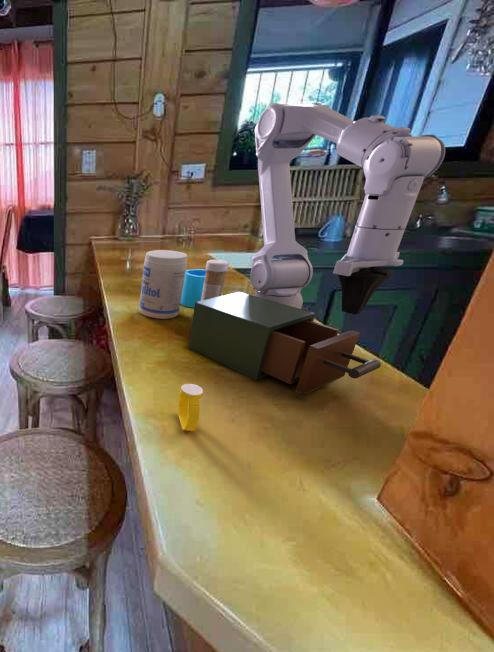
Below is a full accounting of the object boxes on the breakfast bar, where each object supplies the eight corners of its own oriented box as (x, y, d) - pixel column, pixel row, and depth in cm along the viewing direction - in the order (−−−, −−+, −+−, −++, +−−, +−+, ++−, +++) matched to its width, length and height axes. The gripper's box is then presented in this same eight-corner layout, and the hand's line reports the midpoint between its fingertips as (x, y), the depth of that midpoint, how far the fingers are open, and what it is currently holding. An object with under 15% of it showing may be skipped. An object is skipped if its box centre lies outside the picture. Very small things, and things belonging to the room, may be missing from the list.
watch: (171, 411, 55) (176, 376, 53) (191, 412, 55) (197, 377, 52) (179, 437, 50) (185, 399, 47) (200, 439, 49) (208, 401, 47)
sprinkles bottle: (222, 317, 89) (233, 261, 83) (210, 322, 87) (221, 264, 81) (205, 312, 92) (214, 258, 87) (193, 316, 90) (202, 260, 85)
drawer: (378, 389, 58) (397, 343, 55) (337, 410, 53) (355, 361, 50) (266, 346, 72) (275, 308, 69) (226, 359, 68) (234, 319, 65)
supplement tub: (131, 313, 93) (136, 253, 87) (151, 304, 99) (158, 248, 93) (166, 323, 87) (174, 259, 80) (186, 313, 92) (195, 253, 86)
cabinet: (300, 362, 68) (315, 313, 64) (256, 380, 63) (269, 327, 59) (230, 335, 80) (239, 291, 76) (187, 347, 75) (195, 302, 71)
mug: (214, 309, 94) (220, 277, 91) (180, 307, 96) (184, 276, 93) (209, 295, 105) (214, 266, 101) (178, 293, 107) (182, 265, 103)
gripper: (388, 234, 50) (354, 328, 55) (436, 225, 56) (402, 311, 61) (330, 228, 56) (305, 314, 61) (379, 221, 62) (353, 300, 67)
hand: (350, 312), depth 62 cm, fingers closed
